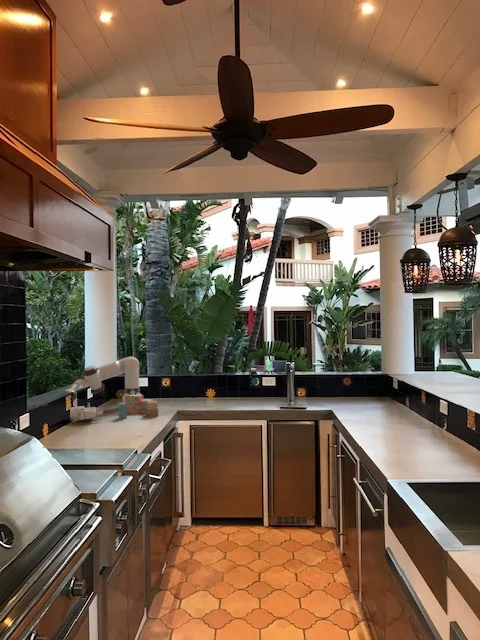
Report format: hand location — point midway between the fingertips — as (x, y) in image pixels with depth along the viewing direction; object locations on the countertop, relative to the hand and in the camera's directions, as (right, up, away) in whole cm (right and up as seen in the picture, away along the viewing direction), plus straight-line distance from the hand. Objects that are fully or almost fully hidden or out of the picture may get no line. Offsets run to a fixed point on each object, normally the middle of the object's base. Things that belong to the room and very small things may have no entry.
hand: (102, 411), depth 332 cm
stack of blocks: (+20, -6, +26) cm, 33 cm away
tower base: (+32, -5, +9) cm, 34 cm away
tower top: (+32, 0, +10) cm, 34 cm away
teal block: (+13, -5, +4) cm, 14 cm away
